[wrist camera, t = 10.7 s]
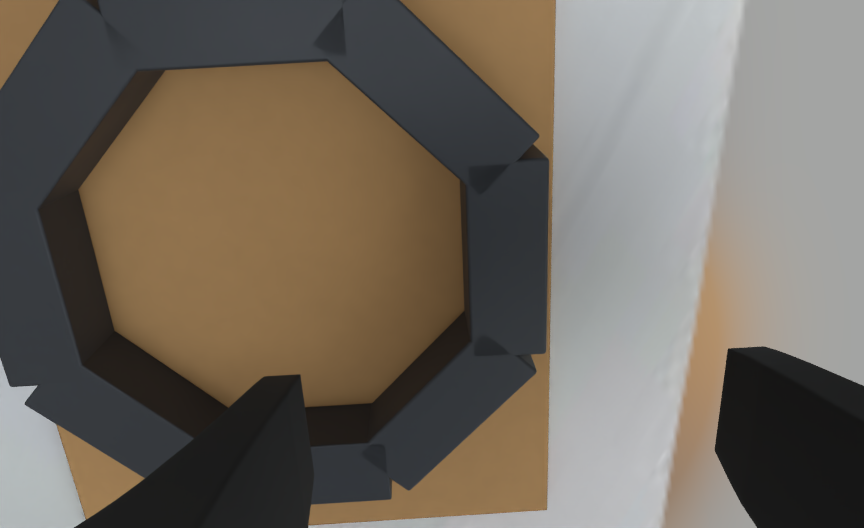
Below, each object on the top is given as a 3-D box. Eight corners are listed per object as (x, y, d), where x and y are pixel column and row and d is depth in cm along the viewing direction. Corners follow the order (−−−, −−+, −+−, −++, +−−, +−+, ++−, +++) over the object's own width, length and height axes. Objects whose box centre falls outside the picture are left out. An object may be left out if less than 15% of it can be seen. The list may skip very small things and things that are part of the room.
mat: (544, 501, 21) (547, 510, 21) (97, 531, 21) (91, 539, 21) (554, -159, 15) (558, -164, 14) (-104, -125, 14) (-118, -130, 14)
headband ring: (532, 447, 20) (545, 490, 18) (87, 475, 20) (53, 522, 18) (535, -43, 15) (553, -53, 13) (-59, -11, 15) (-126, -16, 13)
